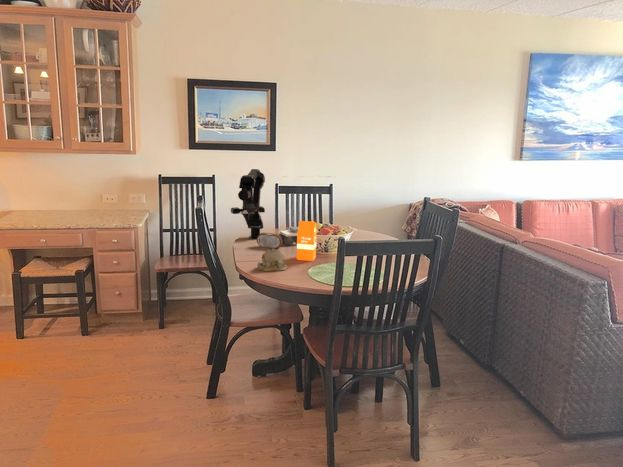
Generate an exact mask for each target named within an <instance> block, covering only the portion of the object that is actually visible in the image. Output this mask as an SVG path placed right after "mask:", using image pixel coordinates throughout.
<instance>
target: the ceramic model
mask: <svg viewBox="0 0 623 467" xmlns="http://www.w3.org/2000/svg"><path fill="white" fill-rule="evenodd" d="M284 261H286V257H285V255H284V253H282V252H281V250H280V249H274V248H271V250H270V249H269V250H266V251H265V252H264V253H262V255H261V262H260V261H258V262H257V269H258V270H259V271H265V272H271V271H273V272H275V271H285V270H287V269H288V268H289V267H288V266H287V264H285V263H284Z"/></svg>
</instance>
